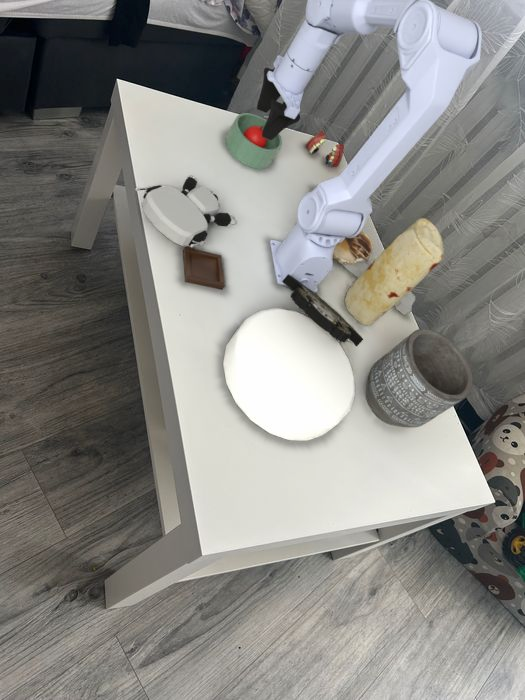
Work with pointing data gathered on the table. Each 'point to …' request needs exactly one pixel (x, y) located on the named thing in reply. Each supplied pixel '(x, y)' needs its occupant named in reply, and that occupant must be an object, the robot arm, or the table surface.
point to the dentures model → (333, 157)
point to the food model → (395, 272)
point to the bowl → (248, 150)
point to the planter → (418, 380)
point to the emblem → (321, 312)
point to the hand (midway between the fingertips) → (264, 123)
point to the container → (289, 374)
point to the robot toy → (184, 212)
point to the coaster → (203, 268)
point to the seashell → (353, 249)
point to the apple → (256, 136)
